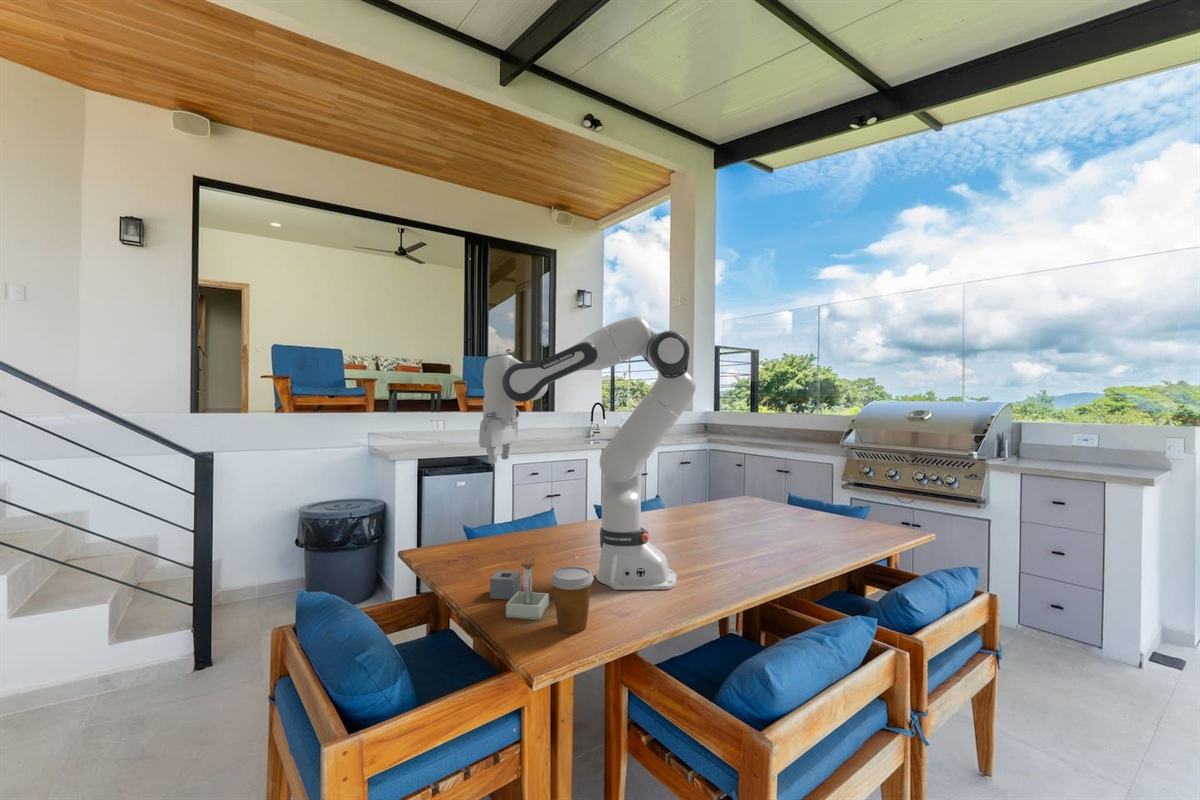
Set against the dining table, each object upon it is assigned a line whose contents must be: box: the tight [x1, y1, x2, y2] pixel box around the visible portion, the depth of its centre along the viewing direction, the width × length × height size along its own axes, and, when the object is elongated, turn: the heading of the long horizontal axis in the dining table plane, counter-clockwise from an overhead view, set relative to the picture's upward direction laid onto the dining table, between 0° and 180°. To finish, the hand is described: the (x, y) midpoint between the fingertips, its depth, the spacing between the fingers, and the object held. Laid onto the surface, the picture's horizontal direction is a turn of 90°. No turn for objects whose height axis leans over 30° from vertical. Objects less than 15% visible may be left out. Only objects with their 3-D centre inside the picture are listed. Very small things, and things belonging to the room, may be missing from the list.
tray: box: [505, 591, 550, 621], centre depth 119 cm, size 8×8×3 cm
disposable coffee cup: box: [550, 565, 595, 634], centre depth 111 cm, size 10×10×12 cm
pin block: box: [489, 570, 522, 601], centre depth 129 cm, size 6×6×5 cm
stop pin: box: [520, 555, 536, 605], centre depth 119 cm, size 3×3×12 cm
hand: (499, 461), depth 141 cm, fingers open, 8 cm apart
